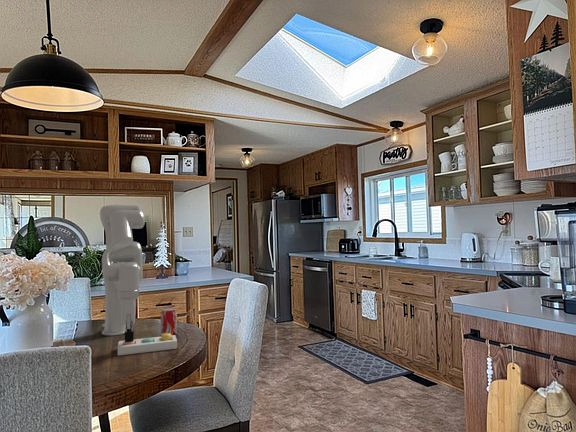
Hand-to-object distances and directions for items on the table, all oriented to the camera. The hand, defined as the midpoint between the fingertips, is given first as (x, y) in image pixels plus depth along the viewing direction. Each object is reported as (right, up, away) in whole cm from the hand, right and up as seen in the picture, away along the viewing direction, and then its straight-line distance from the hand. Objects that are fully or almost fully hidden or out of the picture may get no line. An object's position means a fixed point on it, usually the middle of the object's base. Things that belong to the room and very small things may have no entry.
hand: (129, 341), depth 159 cm
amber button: (+13, -2, +5) cm, 14 cm away
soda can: (+9, -5, +22) cm, 24 cm away
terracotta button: (0, -3, 0) cm, 3 cm away
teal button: (+7, -3, +2) cm, 8 cm away
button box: (+7, -4, +3) cm, 8 cm away
